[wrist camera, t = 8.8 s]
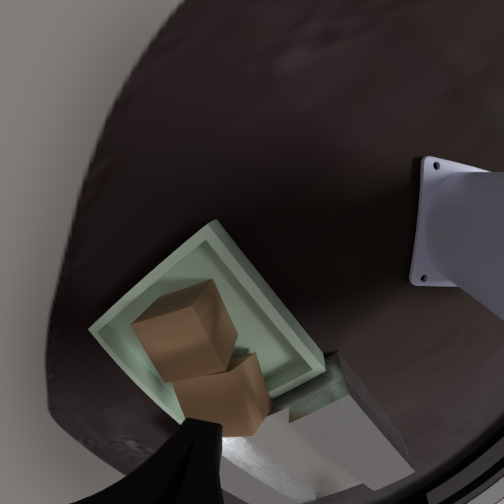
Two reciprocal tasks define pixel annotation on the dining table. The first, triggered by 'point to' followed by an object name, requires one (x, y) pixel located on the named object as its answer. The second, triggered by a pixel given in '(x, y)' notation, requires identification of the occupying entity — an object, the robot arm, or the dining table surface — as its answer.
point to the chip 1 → (187, 333)
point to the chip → (228, 397)
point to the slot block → (316, 443)
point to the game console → (469, 479)
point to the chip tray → (237, 304)
